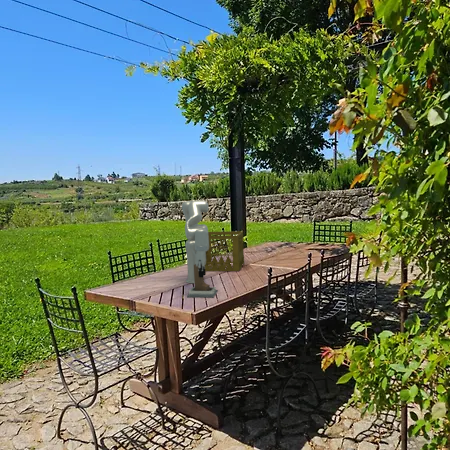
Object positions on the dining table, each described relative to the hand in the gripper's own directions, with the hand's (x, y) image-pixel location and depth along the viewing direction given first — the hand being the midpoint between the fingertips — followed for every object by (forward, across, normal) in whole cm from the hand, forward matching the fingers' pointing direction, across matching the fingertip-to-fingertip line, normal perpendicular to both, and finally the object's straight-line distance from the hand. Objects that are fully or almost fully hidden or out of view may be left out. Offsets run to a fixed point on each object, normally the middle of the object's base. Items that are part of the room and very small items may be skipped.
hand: (202, 275), depth 255 cm
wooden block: (+11, 0, 0) cm, 11 cm away
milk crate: (+13, -91, -2) cm, 92 cm away
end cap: (+12, 0, 0) cm, 12 cm away
